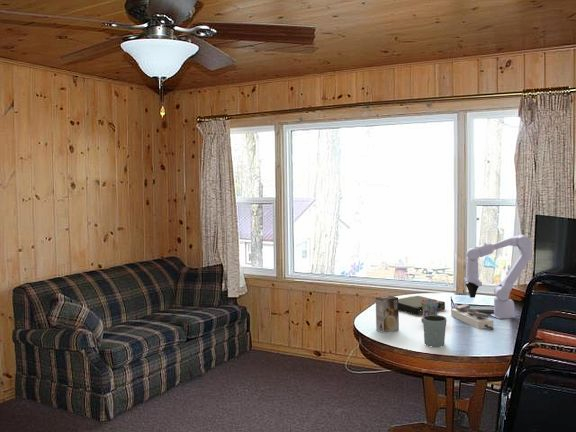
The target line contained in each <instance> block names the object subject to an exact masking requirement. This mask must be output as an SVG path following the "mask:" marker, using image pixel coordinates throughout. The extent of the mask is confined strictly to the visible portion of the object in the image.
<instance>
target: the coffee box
mask: <svg viewBox="0 0 576 432" xmlns="http://www.w3.org/2000/svg"><path fill="white" fill-rule="evenodd" d="M398 299H399V297H397V296H394V295H385V296H380V297H375V316H376V317H375V322H376V323H375V325H376V328H375V329H376V331H378V330H379V332H380V331H382V332H381V333H383V332H386V333H390V332H396V330H397V331H399V330H400V323H399V311H400V310H398Z"/></svg>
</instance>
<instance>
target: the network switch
mask: <svg viewBox="0 0 576 432" xmlns="http://www.w3.org/2000/svg"><path fill="white" fill-rule="evenodd" d="M423 299H431V298H429V297H427V296H426V297H425V296H422V295H413V296H408V297H401V298H398V311H402V312H404V313H408V314H411V315H415V316H420V315H423V308H422V304H421V302H420V301H421V300H423ZM438 301H439V304H438V306H437V311H441V310H443V311H444V310H446V309H445V308H446V302H445V301H442V300H438Z"/></svg>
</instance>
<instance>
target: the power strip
mask: <svg viewBox="0 0 576 432" xmlns="http://www.w3.org/2000/svg"><path fill="white" fill-rule="evenodd" d="M450 313H451V314H450V316H451V317H453V318H455V319H457V320H459V321H462V322H464V323H465V324H467V325H470V326H471V327H474V328H475V329H478V330H482V329H490V330H491V331H493V330H494V319H491V318H489V317H488V318H485V317H478V316H475V315H473V313H471V312H468V311H466V310H462V311H458V310H456V308H451V311H450Z"/></svg>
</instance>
